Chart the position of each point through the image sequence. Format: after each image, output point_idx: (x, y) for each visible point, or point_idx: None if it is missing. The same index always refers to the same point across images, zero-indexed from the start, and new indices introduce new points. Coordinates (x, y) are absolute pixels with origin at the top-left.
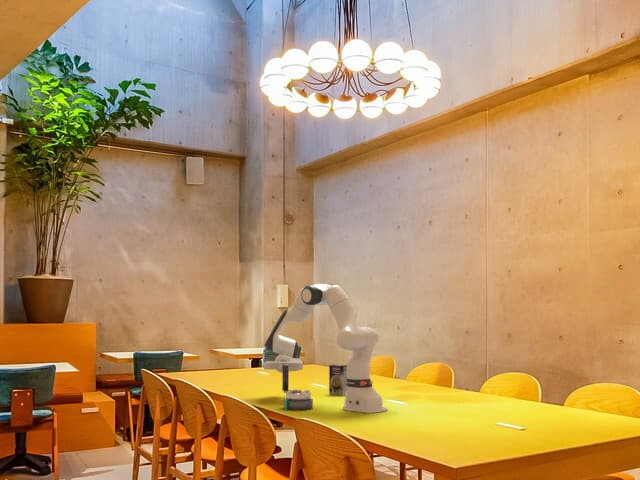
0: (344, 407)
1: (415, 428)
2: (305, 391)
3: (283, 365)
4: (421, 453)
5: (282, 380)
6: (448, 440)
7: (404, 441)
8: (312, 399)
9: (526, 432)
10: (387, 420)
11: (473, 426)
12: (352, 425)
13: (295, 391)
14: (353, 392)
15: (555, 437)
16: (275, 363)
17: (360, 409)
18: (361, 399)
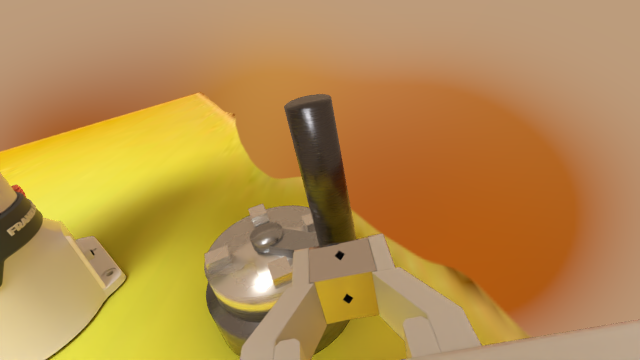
0: (117, 272)
1: (124, 156)
2: (228, 252)
3: (323, 100)
4: (200, 102)
5: (347, 191)
6: (138, 129)
7: (188, 118)
8: (208, 283)
9: (8, 166)
10: (118, 187)
11: (27, 178)
12: (208, 151)
13: (283, 229)
14: (59, 226)
15: (11, 156)
16: (575, 331)
17: (92, 250)
18: (66, 229)
